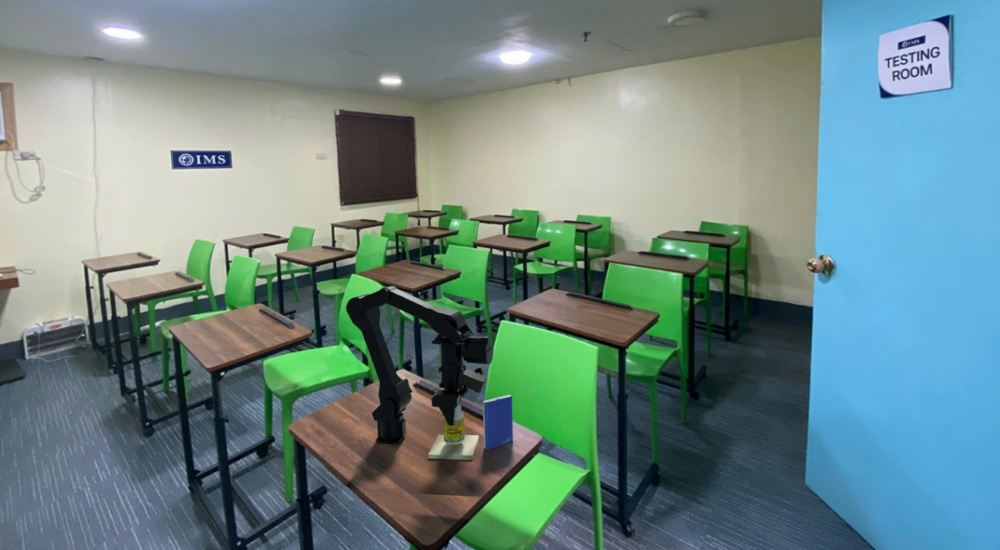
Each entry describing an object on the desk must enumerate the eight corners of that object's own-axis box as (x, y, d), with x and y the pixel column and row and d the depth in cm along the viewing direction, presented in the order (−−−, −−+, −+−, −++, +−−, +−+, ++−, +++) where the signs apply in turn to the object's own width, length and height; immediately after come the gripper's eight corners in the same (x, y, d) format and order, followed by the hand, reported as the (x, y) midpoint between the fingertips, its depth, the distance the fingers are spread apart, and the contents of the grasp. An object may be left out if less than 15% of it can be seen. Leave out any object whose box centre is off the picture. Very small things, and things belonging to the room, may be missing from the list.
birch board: (428, 460, 116) (428, 454, 116) (438, 440, 127) (438, 434, 127) (472, 461, 115) (472, 455, 115) (479, 441, 126) (478, 435, 125)
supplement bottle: (462, 435, 124) (462, 399, 123) (466, 444, 118) (465, 407, 118) (442, 437, 122) (441, 401, 121) (444, 446, 117) (443, 409, 116)
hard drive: (513, 441, 124) (512, 396, 122) (486, 450, 120) (485, 403, 118) (510, 439, 125) (509, 394, 124) (483, 447, 121) (482, 401, 119)
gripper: (477, 373, 108) (478, 438, 110) (489, 351, 126) (490, 407, 128) (429, 372, 109) (432, 436, 111) (448, 351, 128) (450, 406, 130)
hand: (453, 420), depth 120 cm, fingers closed on supplement bottle, 5 cm apart
